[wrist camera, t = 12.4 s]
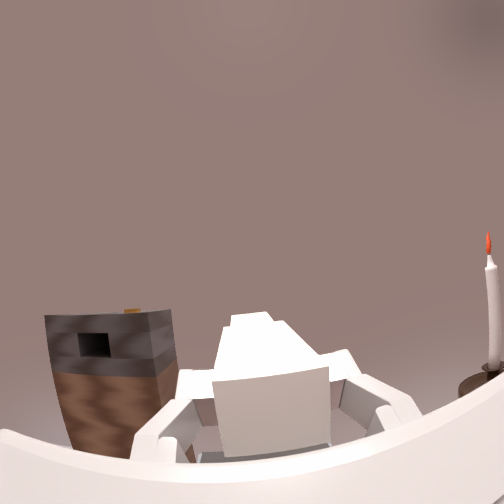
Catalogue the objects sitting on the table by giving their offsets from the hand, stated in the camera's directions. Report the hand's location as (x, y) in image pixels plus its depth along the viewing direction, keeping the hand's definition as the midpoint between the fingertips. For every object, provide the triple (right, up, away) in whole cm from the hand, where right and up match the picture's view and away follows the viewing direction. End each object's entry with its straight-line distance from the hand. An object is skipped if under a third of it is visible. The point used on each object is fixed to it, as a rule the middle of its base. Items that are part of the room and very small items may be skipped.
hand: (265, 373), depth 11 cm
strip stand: (-15, -33, +16) cm, 39 cm away
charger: (0, -2, +5) cm, 6 cm away
